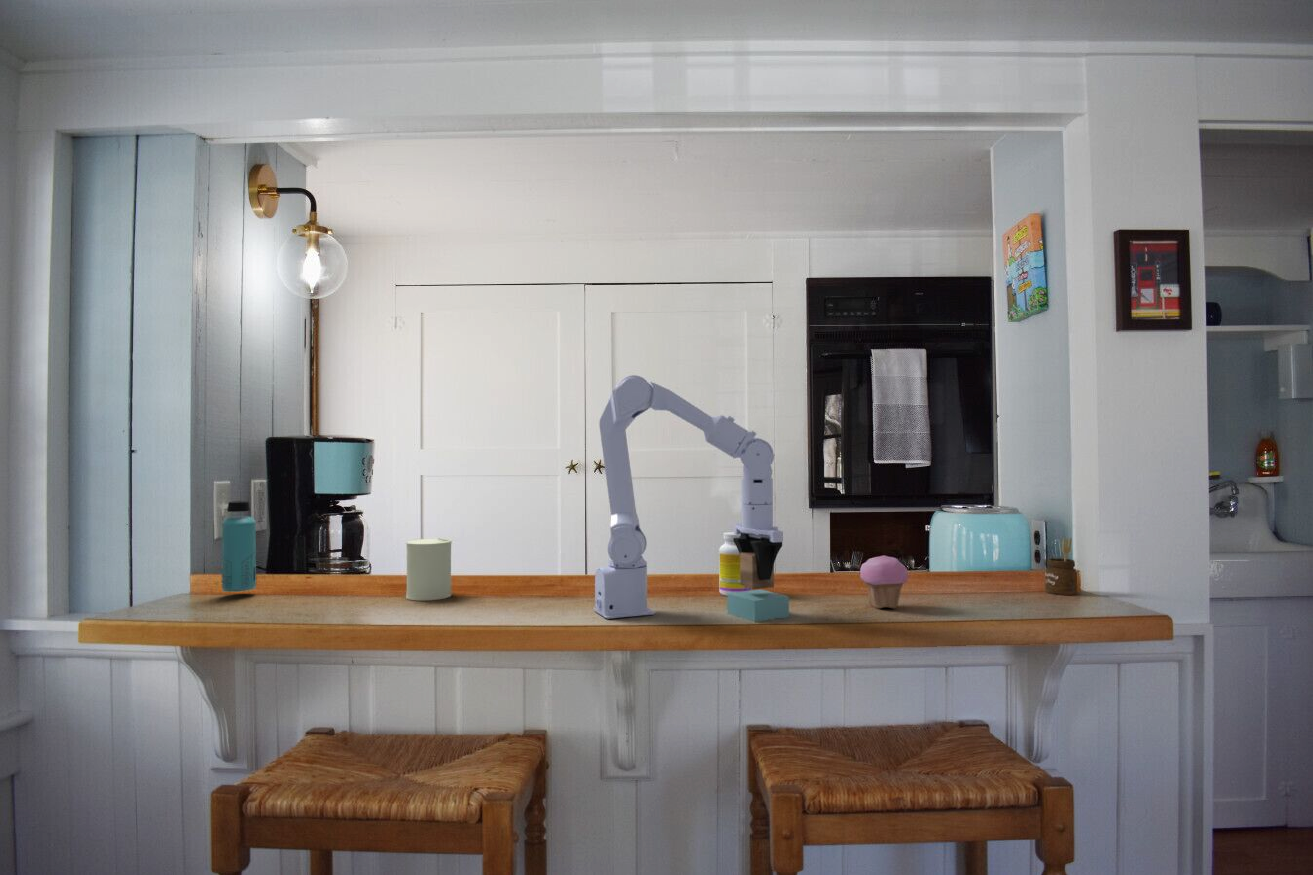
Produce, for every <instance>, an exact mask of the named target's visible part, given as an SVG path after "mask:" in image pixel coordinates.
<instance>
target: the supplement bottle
mask: <svg viewBox="0 0 1313 875" xmlns="http://www.w3.org/2000/svg"><path fill="white" fill-rule="evenodd" d="M740 536H741V534H734V531H731V532H730V531H729V532H723V540H724V543H723V544H722V545H720V547H719V548H718V561H719V562H718V565H719V566H718V567H719V568H718V569H719V570H718V573H719V574H718V575H719V576H718V578H719V579H718V582H719V584H718V589H719V590H718V591H719V593H720V595H722V596H726V597H727V594H728V593H736V592H744V591H751V590H752V589H751V588H748V587H745V586H742V585H740V554H739V551H738V549H737V547H736V545H735V543H734V541H733V538H740Z"/></svg>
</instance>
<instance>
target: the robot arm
mask: <svg viewBox="0 0 1313 875" xmlns="http://www.w3.org/2000/svg"><path fill="white" fill-rule="evenodd" d="M649 409H652V410H654V411H668V412H669V413H672V414H673V415H674V416H676V417H678V418H680V419H682V420H684V421H685V422H687V423H689V424H690V425H693V427H696V428H697V429H699V430H700V431H703V433H704V439H705V442H707V443H708V444H710V445H711V446H713V447H715V448H717V450H720V451H722V452H723V453H725V454H726V455H728V456H729V457H731V458H732V459H738V458H740V461H741V463H742V464H743V465H742V478H741V523H734V524H733V532H734V534H741V536H740V538H733V541H734V543H735V545H736V547H737V549H738V551H739V554H740V553H742V552H754V553H755V557H756V564H757V573H758V578H759V580H770V578H771V574H772V570H773V566H774V567H775V562H776V560H777V556H778V554H779V552H780V551H781V548H782V547H783V542H784V532H783V530H779V527H778V526H775V525H774V510H773V509H774V508H773V507H774V504H773V503H774V493H773V492H774V488H773V487H774V486H773V484H774V483H773V482H774V481H773V478H772V476H773V469H772V464H773V463H774V460H775V456H776V455H775V453H774V450H773V447H772V446H771V443H769V442H768V441H766V440H764V439H762V438H759V437H756V435H757V432H755V431H753V430H751V431H749V430H748V429H746V428H744V427H742V426H741V425H739V424H737V423H736V422H735V418H734V417H732V416H731V415H729V416H727V417H726V416H724V415H723V414H722V415H721V414H720V415H716V416H711V415H709V414H707V413H706V412H705V411H702V409H700V408H698V406H695V405H693V404H692V403H690V402H689V401H687V400H686V399H684V398H683V397H681V396H680V395H678V394H677V393H675V392H674V391H672V390H670V389H668V388H666V387H663V386H662V385H659V384H658V383H656V382H652V381H650V382H648V381H647V379H645V378H644V377H642V376H640V375H635V374H633V375H628V376H626V377H624V378H622V380H620V382H618V383H617V384H616V386H614V388H613V389H612V390H611V393H610V397H609V399H608V401H607V403H606V405H605V407H604V410H603V412H602V413H601V414H602V415H601V416H600V419H599V431H600V441H601V448H602V457H603V462H604V464H603V465H604V470H605V471H604V472H605V478H606V486H607V496H608V500H609V502H608V503H609V510H610V522H609V523H610V524H609V529H610V539H609V541H608V544H607V552H608V556H609V558H610V560H609V561H608V565H607V566H600V567H598V568H597V569H596V571H595V576H594V577H595V578H594V607H593V611H594V612H595V613H597V614H599V615H600V616H602V617H603V618H605V619H606V620H607V619H618V618H619V619H620V618H629V617H630V618H631V617H641V616H650V615H655V613H656V612H655V611H654V610H652V609H651V608H648V562H647V561H646V559H644V557H643V554H644V553H645V551H646V549H647V537H646V534H644V532H643V531H642V528H641V526H640V520H639V516H638V514H637V508H636V507H637V506H636V501H635V494H634V493H635V492H634V485H633V478H632V470H631V463H630V455H629V447H628V440H627V432H626V430H627V429H628V427H629V426H630V425H631V424H632V423H633V422H634V420H635V419H636V418H637V417H639V416H640V415H641V414H644V413H645V412H646V411H648V410H649Z"/></svg>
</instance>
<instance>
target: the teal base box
mask: <svg viewBox="0 0 1313 875" xmlns="http://www.w3.org/2000/svg"><path fill="white" fill-rule="evenodd" d="M726 602H727V603H726V606H727V607H726V608H727V610H726V612H727V615H730V616H733V617H737V618H739V619H743V620H745V621H749V620H751V621H750V622H753V621H759V622H761V621H760V620H765V621H769V620H768V619H771V620H775V618H778V619H784V618H789V617H790V607H789V606H790V596H789V595H785V594H781V593H776V592H773V591H769V590H765V589H762V588H760V589H751V591H744V592H736V593H728V594H727V596H726ZM783 617H784V618H783Z"/></svg>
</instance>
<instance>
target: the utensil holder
mask: <svg viewBox="0 0 1313 875" xmlns="http://www.w3.org/2000/svg"><path fill="white" fill-rule="evenodd" d="M1054 541H1055V542H1054ZM1057 541H1058V544H1059V547H1061V544H1062V550H1059V552H1060V553H1059V554H1060V556H1059V557H1058V556H1057V554H1055V555H1054V553H1053V552H1054V551H1053V550H1052V554H1053V555H1052V556H1055V557H1050V558H1047V559H1046V566H1047V567H1046V568H1045V570H1044V572H1045V573H1044V574H1045V577H1044V582H1045V584H1044V585H1045V591H1046V593H1048V594H1052V595H1056V596H1057V595H1058V596H1073V595H1074V596H1075V595H1077V592H1078V573H1077V569H1076V568H1075V567H1076V561H1075V560H1074V559H1070V558H1067V556H1068V555H1067V554H1069V553H1070V552H1071V547H1072V538H1071V537H1070V538H1069V537H1067V538H1066V537H1063V541H1062V542H1061V540H1060V539H1058V540H1056V539H1055V540H1054V539H1053V541H1052V542H1051V544H1053V542H1054V543H1056V542H1057ZM1060 542H1061V544H1060ZM1054 547H1055V548H1054V550H1055V552H1057V549H1056V546H1054ZM1061 552H1062V553H1063V554H1061ZM1061 555H1064V556H1062V558H1061ZM1063 557H1064V558H1063Z"/></svg>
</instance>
